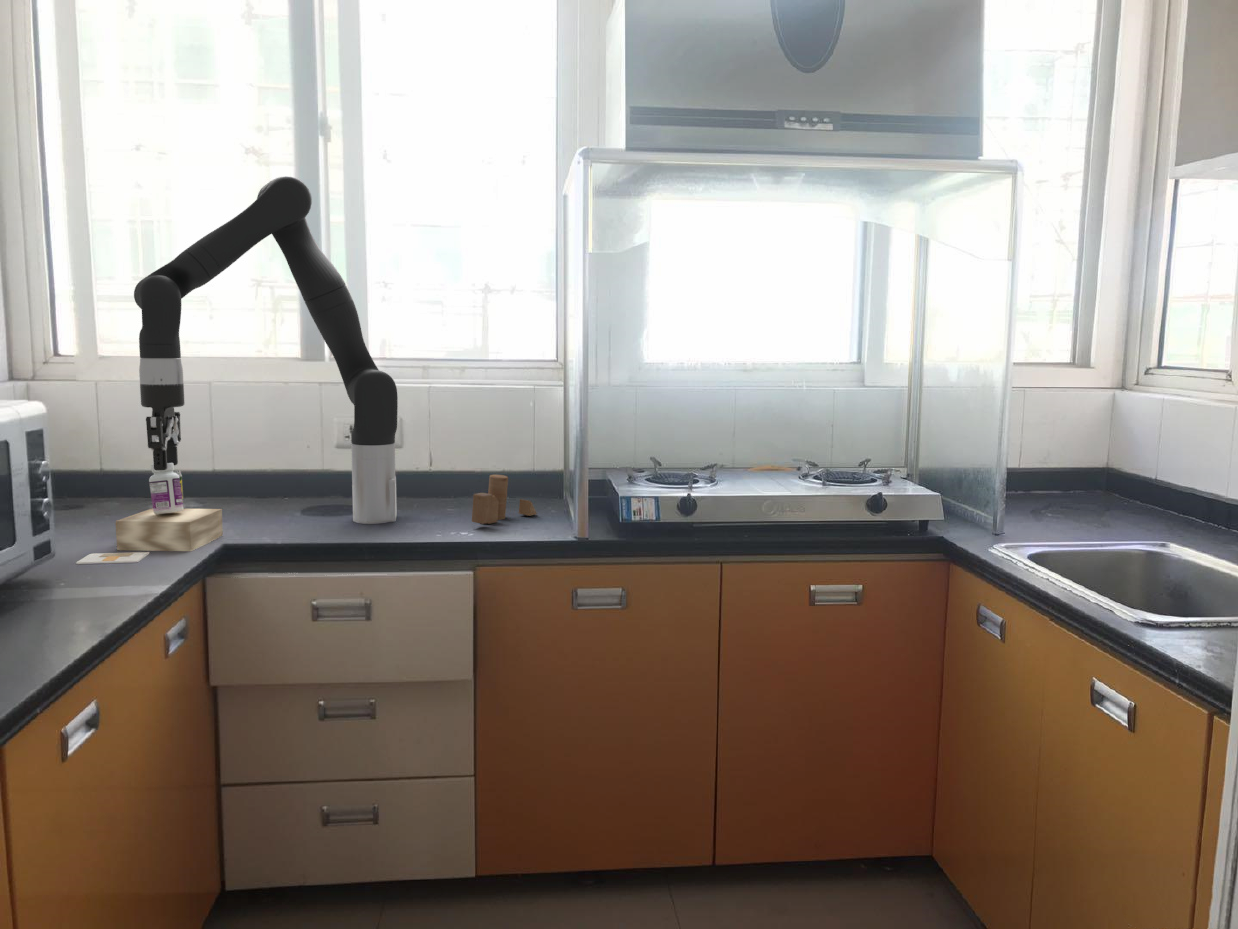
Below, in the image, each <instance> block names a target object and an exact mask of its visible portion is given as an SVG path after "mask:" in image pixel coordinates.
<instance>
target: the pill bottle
mask: <svg viewBox="0 0 1238 929" xmlns="http://www.w3.org/2000/svg"><path fill="white" fill-rule="evenodd" d="M150 468H151V473H153V474H152V475H151V476H150V477H149V479H148V483H149V491H150V497H151V498H150V499H151V506H152V508H153V512H154V514H165V513H173V512H179V511H183V504H184V500H183V501H182V493H181V486H180V478H179V475H178V474H176V473H174V472H173V470H175V465H174V464H173V463H167V469H166V470H155V469H154V464H152V465H151V466H150Z"/></svg>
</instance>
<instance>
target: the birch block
mask: <svg viewBox="0 0 1238 929" xmlns="http://www.w3.org/2000/svg"><path fill="white" fill-rule="evenodd" d="M114 522H115V534H116V535H115V538H116V550H117V551H143V552H146V551H147V552H150V551H152V552H153V551H155V552H156V551H159V552H162V551H163V552H192V551H195V550H197V549H199V548H201V547H203V546H206V545H208V544H209V543H211V541H212V542H213V540H214V541H216V540H218V539H220V538H221V537H220V536H222V535H223V536H224V533H223V532H224V531H223V529H224V528H223V509H222V508H184V509H183V511H179V512H173V513H165V514H154V512H153V507H152V508H149V509H146V510H143V511H140V512H138V513H135V514H134V513H133V515H129V516H126V517H123V518H121V519H117V520H114ZM223 536H222V537H223ZM219 537H220V538H219ZM217 538H218V539H217Z"/></svg>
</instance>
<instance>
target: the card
mask: <svg viewBox="0 0 1238 929" xmlns="http://www.w3.org/2000/svg"><path fill="white" fill-rule="evenodd" d="M148 555H150V551H147V552H146V551H143V552H142V551H138V552H137V551H136V552H105V553H103V552H102V553H99V552H97V553H96V552H95V553H89V554H88V555H86V556H85V557H82V558H81V559H80V560H77V561H76V562H75V565H89V564H91V565H92V564H125V563H126V564H127V563H129V564H130V563H138V562H141V560H143V559H144V558H146V557H148Z"/></svg>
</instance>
